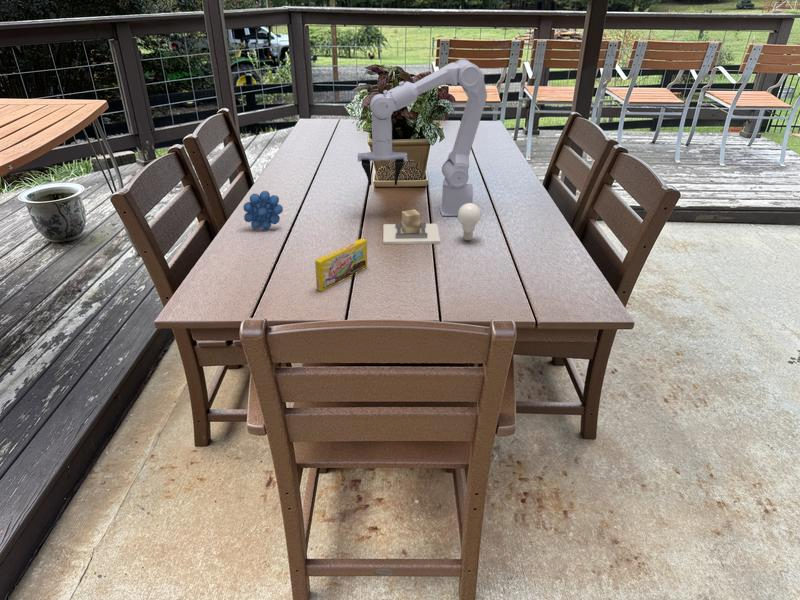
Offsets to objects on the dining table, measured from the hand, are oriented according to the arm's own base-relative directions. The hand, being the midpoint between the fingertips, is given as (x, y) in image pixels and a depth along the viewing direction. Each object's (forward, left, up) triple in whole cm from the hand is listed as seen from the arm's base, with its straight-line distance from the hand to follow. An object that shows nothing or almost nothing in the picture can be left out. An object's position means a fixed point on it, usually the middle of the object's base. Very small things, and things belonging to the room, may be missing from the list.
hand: (383, 184), depth 165 cm
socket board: (-8, +14, -10) cm, 19 cm away
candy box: (+10, +39, -11) cm, 42 cm away
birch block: (-8, +14, -10) cm, 19 cm away
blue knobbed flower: (+35, +8, -11) cm, 37 cm away
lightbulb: (-24, +18, -11) cm, 32 cm away
